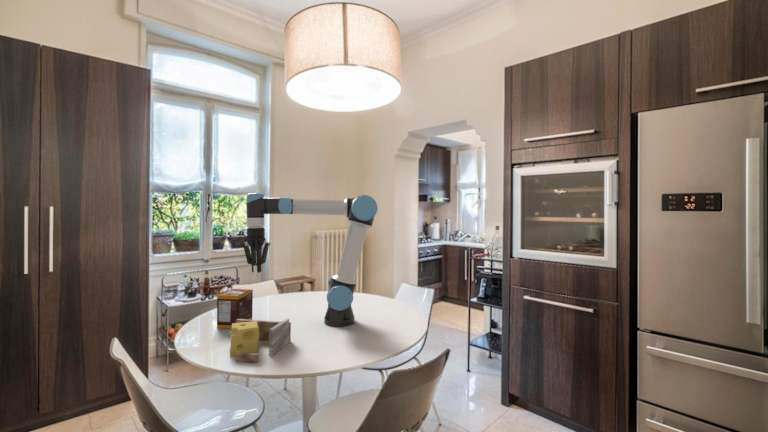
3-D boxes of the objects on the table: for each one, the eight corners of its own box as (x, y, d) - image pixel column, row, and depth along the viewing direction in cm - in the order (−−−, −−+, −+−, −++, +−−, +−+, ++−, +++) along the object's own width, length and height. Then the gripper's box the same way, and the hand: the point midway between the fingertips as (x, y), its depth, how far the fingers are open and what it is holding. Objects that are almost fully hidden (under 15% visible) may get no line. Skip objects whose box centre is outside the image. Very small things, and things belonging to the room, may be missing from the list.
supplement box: (252, 319, 181) (253, 289, 181) (237, 329, 166) (237, 295, 166) (233, 318, 182) (233, 288, 182) (216, 328, 167) (216, 295, 167)
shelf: (290, 341, 151) (290, 317, 151) (262, 363, 128) (263, 336, 128) (237, 337, 155) (237, 314, 155) (201, 358, 132) (201, 331, 132)
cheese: (229, 356, 134) (230, 330, 134) (230, 346, 144) (231, 322, 144) (258, 353, 138) (259, 327, 138) (258, 343, 148) (258, 319, 148)
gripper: (273, 226, 164) (274, 278, 164) (246, 227, 165) (247, 277, 166) (265, 227, 156) (266, 281, 156) (237, 227, 158) (238, 280, 158)
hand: (256, 279), depth 161 cm, fingers closed
